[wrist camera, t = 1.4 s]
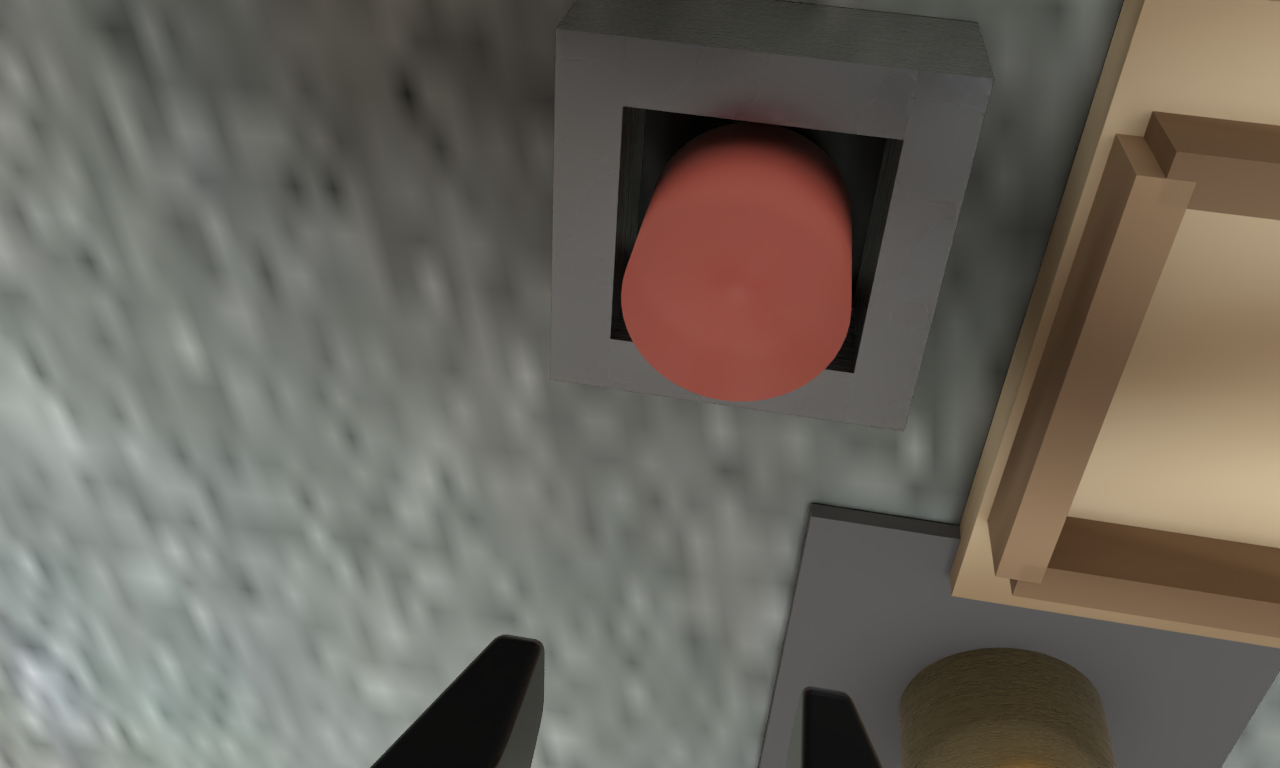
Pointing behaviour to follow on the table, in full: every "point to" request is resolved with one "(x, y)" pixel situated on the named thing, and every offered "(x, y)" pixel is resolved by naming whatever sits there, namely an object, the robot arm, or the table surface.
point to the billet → (1003, 714)
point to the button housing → (774, 94)
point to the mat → (946, 625)
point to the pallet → (1151, 349)
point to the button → (742, 265)
